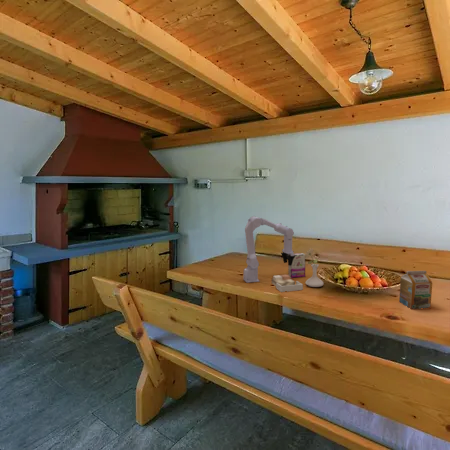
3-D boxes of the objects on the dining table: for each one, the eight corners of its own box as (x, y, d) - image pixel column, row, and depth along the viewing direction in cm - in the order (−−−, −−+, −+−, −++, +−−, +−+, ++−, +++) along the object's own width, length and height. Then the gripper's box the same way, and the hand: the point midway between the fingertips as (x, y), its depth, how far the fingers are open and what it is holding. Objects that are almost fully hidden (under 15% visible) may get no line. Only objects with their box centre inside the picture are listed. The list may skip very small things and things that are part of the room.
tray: (281, 292, 197) (281, 286, 197) (276, 288, 205) (276, 282, 204) (302, 289, 201) (302, 284, 200) (297, 286, 208) (297, 280, 208)
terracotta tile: (283, 279, 212) (283, 276, 211) (281, 277, 216) (281, 275, 216) (290, 279, 213) (290, 276, 213) (287, 277, 217) (287, 274, 217)
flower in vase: (316, 282, 216) (317, 245, 212) (327, 287, 205) (328, 248, 202) (299, 284, 211) (300, 247, 208) (310, 289, 201) (311, 250, 197)
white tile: (275, 280, 210) (275, 277, 210) (273, 278, 215) (273, 275, 214) (282, 280, 211) (282, 277, 211) (279, 278, 216) (279, 275, 216)
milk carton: (417, 301, 179) (420, 268, 176) (430, 308, 168) (433, 273, 166) (399, 301, 179) (401, 268, 176) (410, 309, 168) (413, 274, 166)
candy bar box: (302, 275, 233) (302, 252, 230) (305, 277, 228) (305, 254, 226) (287, 276, 230) (288, 253, 228) (290, 278, 225) (291, 255, 223)
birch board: (277, 287, 206) (277, 283, 205) (271, 283, 215) (271, 278, 215) (294, 286, 208) (295, 281, 208) (288, 281, 218) (288, 277, 218)
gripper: (298, 246, 218) (297, 266, 219) (288, 242, 232) (288, 261, 233) (288, 247, 216) (288, 266, 218) (279, 243, 230) (279, 261, 232)
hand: (287, 264), depth 226 cm, fingers open, 7 cm apart
